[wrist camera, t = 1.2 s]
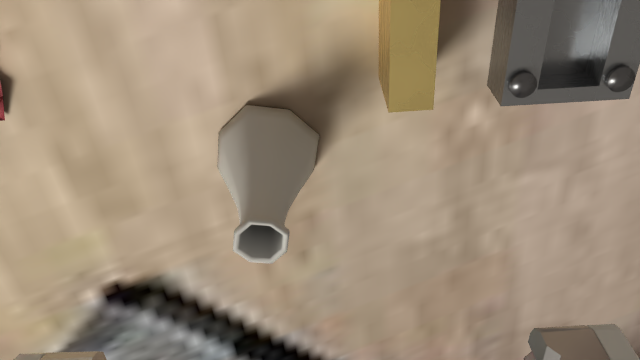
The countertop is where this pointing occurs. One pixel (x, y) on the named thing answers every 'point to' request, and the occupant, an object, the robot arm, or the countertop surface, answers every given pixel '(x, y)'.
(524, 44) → the link
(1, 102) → the candy landscape model
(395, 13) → the tall mustard post
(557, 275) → the countertop surface
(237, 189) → the flask
